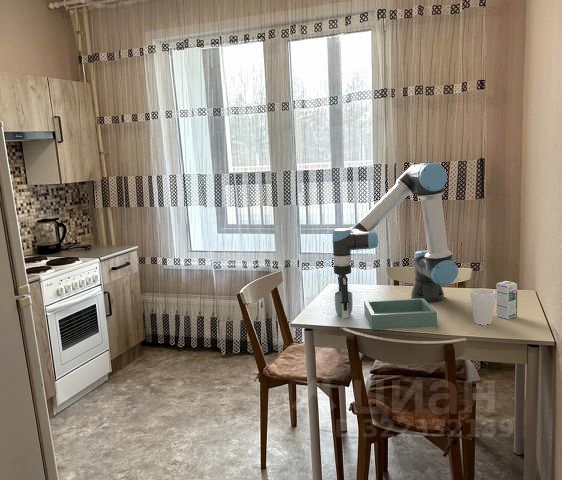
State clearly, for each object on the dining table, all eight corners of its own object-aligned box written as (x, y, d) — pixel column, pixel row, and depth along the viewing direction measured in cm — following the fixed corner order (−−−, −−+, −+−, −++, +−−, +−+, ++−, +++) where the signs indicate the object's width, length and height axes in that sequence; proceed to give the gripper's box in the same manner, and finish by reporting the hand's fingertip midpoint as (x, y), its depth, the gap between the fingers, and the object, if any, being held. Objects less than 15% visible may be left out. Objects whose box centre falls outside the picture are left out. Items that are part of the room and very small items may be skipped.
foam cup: (494, 319, 206) (495, 288, 204) (496, 327, 198) (496, 295, 195) (469, 318, 209) (470, 288, 207) (470, 325, 201) (470, 294, 199)
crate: (423, 311, 222) (423, 298, 221) (436, 326, 202) (436, 312, 201) (364, 314, 222) (364, 301, 221) (371, 329, 203) (371, 315, 202)
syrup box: (507, 319, 205) (508, 285, 203) (495, 316, 210) (496, 282, 208) (517, 317, 208) (518, 282, 205) (505, 313, 213) (505, 280, 211)
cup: (352, 318, 218) (351, 295, 216) (334, 317, 220) (333, 295, 218) (353, 312, 226) (352, 290, 224) (336, 312, 227) (335, 290, 226)
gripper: (331, 259, 230) (333, 306, 234) (336, 270, 208) (338, 322, 211) (347, 258, 230) (349, 305, 234) (354, 269, 207) (355, 321, 211)
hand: (344, 313), depth 222 cm, fingers open, 10 cm apart
